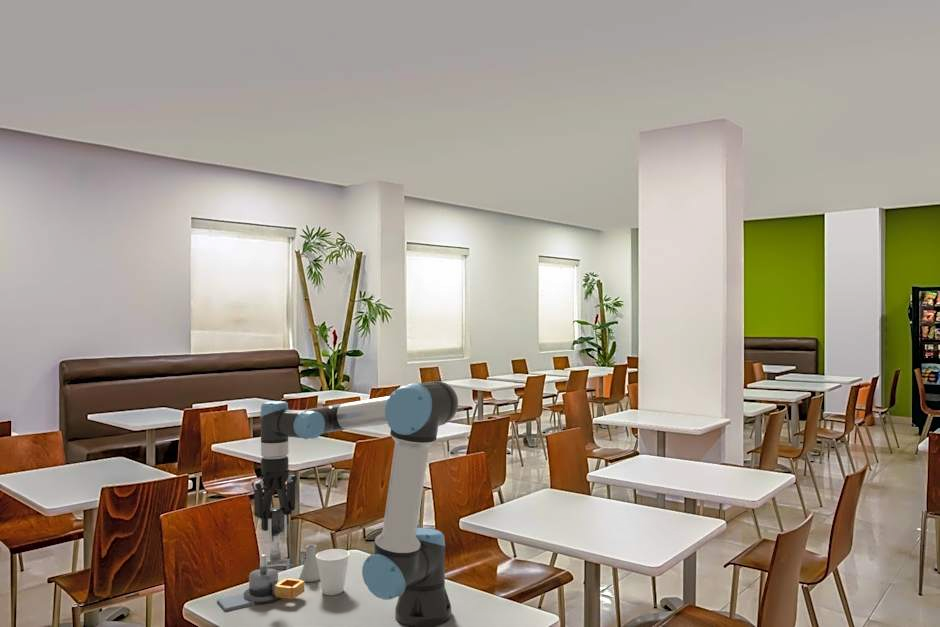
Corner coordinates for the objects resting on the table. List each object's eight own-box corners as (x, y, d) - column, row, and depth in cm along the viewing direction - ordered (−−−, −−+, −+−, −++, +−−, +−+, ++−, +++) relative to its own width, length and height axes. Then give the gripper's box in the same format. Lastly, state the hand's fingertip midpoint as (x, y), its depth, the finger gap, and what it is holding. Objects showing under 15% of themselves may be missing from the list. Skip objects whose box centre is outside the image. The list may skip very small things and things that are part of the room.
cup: (353, 586, 212) (353, 549, 212) (344, 598, 202) (344, 560, 202) (321, 584, 213) (321, 548, 213) (311, 597, 203) (311, 559, 203)
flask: (294, 581, 216) (294, 548, 216) (307, 573, 223) (307, 541, 223) (315, 583, 214) (315, 550, 214) (327, 575, 221) (327, 543, 221)
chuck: (243, 594, 201) (243, 558, 201) (259, 584, 209) (259, 549, 209) (292, 600, 197) (292, 563, 197) (306, 589, 205) (306, 554, 205)
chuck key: (286, 557, 200) (285, 507, 201) (279, 562, 196) (278, 512, 196) (271, 556, 201) (271, 507, 201) (264, 561, 197) (264, 511, 197)
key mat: (254, 604, 198) (254, 601, 198) (225, 611, 194) (225, 608, 194) (245, 595, 205) (245, 592, 205) (217, 601, 200) (217, 599, 200)
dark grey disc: (288, 598, 203) (288, 593, 203) (250, 607, 196) (250, 602, 196) (275, 586, 212) (275, 581, 212) (238, 595, 205) (238, 589, 205)
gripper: (292, 450, 208) (293, 529, 208) (239, 459, 195) (240, 544, 195) (308, 453, 203) (308, 534, 203) (255, 462, 190) (255, 549, 190)
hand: (275, 539), depth 199 cm, fingers closed on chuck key, 4 cm apart
